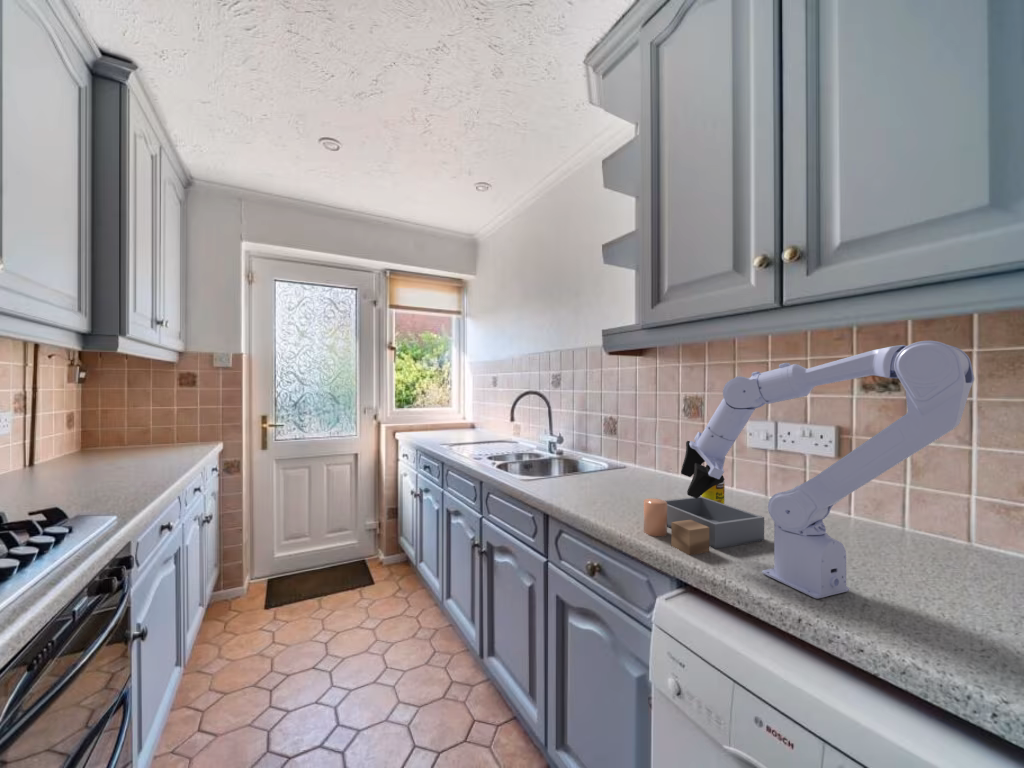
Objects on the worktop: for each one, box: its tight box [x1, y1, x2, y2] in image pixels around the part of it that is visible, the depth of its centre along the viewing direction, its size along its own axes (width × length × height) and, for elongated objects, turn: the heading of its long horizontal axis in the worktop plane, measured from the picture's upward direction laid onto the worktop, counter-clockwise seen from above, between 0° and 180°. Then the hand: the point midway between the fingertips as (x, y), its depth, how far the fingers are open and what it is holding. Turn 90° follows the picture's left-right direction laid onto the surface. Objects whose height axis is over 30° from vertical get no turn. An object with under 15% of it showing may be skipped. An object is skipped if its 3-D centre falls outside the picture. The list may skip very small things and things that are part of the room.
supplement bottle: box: [701, 480, 726, 504], centre depth 110 cm, size 6×6×10 cm
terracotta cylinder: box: [643, 498, 668, 537], centre depth 93 cm, size 5×5×7 cm
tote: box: [663, 495, 765, 550], centre depth 94 cm, size 18×14×5 cm
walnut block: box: [670, 520, 710, 556], centre depth 83 cm, size 5×5×5 cm
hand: (688, 484), depth 86 cm, fingers open, 7 cm apart
